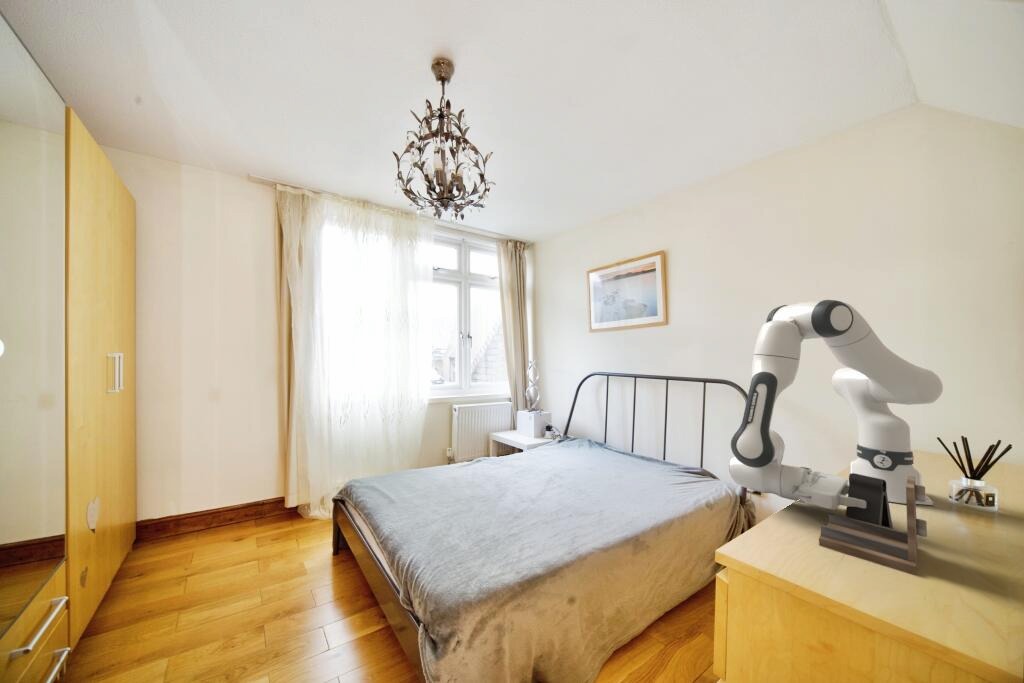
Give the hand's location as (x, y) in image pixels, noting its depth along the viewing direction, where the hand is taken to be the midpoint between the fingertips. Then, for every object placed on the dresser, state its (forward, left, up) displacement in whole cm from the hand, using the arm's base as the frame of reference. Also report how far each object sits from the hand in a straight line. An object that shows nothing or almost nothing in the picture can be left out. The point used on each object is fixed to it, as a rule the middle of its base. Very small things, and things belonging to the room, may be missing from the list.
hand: (868, 499), depth 88 cm
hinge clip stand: (+14, +1, -7) cm, 16 cm away
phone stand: (0, 0, -7) cm, 7 cm away
